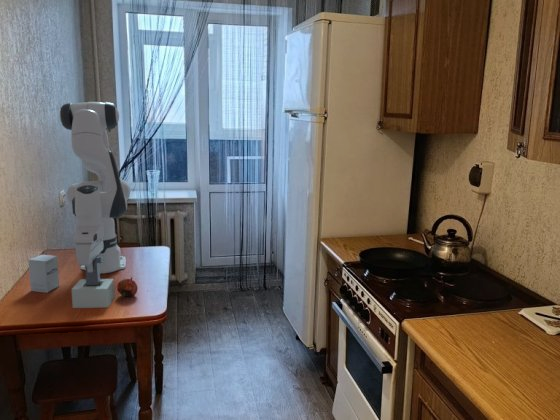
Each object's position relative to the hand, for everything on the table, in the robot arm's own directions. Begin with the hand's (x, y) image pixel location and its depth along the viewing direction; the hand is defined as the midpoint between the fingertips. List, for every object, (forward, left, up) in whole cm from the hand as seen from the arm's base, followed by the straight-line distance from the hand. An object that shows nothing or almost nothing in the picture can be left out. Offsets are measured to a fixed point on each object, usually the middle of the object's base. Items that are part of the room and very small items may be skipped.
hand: (92, 269), depth 167 cm
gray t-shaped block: (0, 0, -7) cm, 7 cm away
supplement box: (-14, -22, -13) cm, 29 cm away
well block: (0, 0, -13) cm, 13 cm away
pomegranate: (-5, +11, -13) cm, 17 cm away
